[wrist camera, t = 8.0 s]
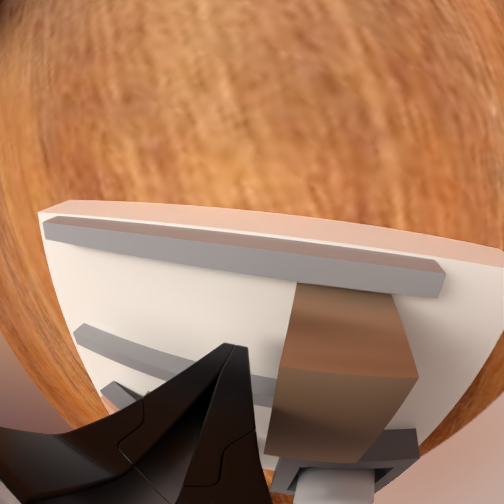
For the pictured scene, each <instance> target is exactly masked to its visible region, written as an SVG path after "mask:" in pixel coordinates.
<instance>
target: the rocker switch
mask: <svg viewBox="0 0 504 504" xmlns="http://www.w3.org/2000/svg"><path fill="white" fill-rule="evenodd" d="M100 392H101V394H102V397H100V398H101V400H102V402H103V404H104V405H105V407H106V409H107V411H108V412H109V414H110V415H111V414H113V413H115V412H117V411H119V410H121V409H123V408H124V407H126V406H128V405H130V404H131V403H133V402H135V401H136V400H135V399H134V398H133V397H132V396H130V395H129V394H128V393H127V392H126V391H124V390H123V389H122V388H121V387H120V386H119V385H118V384H116V383H115V382H114V381H112V382H111V383H109V384H108V385H107V386H105V387H104V388H103V389H101V390H100Z"/></svg>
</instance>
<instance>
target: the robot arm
mask: <svg viewBox="0 0 504 504" xmlns="http://www.w3.org/2000/svg"><path fill="white" fill-rule="evenodd" d="M0 504H273V502H272V499H271V496H270V493H269V489H268V486H267V483H266V480H265V476H264V473H263V469H262V465H261V461H260V456H259V449H258V443H257V433H256V424H255V414H254V404H253V394H252V384H251V373H250V362H249V351H248V347H246V346H241V345H235V344H231V343H222V344H221V345H219V346H218V347H217V348H215V349H214V350H212V351H211V352H209V353H208V354H207V355H205V356H204V357H202V358H201V359H199V360H198V361H196V362H195V363H194V364H192V365H191V366H189V367H188V368H186V369H185V370H183V371H182V372H180V373H179V374H177V375H176V376H174V377H173V378H171V379H170V380H168V381H166V382H165V383H163V384H162V385H160V386H159V387H157V388H156V389H154V390H152V391H151V392H149V393H148V394H146V395H145V396H143V398H140V399H138V400H136V401H135V402H133V403H131V404H130V405H128V406H126V407H124V408H123V409H121V410H119V411H117V412H115V413H113V414H111V415H109V416H106V417H104V418H102V419H100V420H97V421H95V422H93V423H90V424H88V425H85V426H83V427H80V428H78V429H75V430H73V431H70V432H66V433H62V434H44V433H35V432H27V431H21V430H15V429H9V428H4V427H0Z"/></svg>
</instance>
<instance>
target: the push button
mask: <svg viewBox="0 0 504 504" xmlns="http://www.w3.org/2000/svg"><path fill="white" fill-rule="evenodd" d="M374 481H375V469H339V468H320V467H306V468H304V469H302V470H301V471H300V472H299V477H298V482H297V487H296V492H295V496H294V501H293V504H372V503H373V502H374Z"/></svg>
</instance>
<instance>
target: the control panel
mask: <svg viewBox="0 0 504 504" xmlns="http://www.w3.org/2000/svg"><path fill="white" fill-rule="evenodd" d="M38 217H39V223H40V229H41V234H42V239H43V244H44V249H45V253H46V258H47V262H48V266H49V270H50V273H51V277H52V281H53V284H54V288H55V291H56V294H57V297H58V300H59V303H60V306H61V309H62V312H63V315H64V318H65V321H66V323H67V326H68V329H69V331H70V334H71V336H72V339H73V341H74V344H75V346H76V348H77V351H78V353H79V355H80V357H81V360H82V362H83V364H84V366H85V368H86V370H87V372H88V374H89V376H90V378H91V380H92V382H93V384H94V386H95V388H96V390H97V392H98V394H99V395H100V397H102V394H101V392H100V390H101V389H103V388H104V387H105V386H107V385H108V384H109V383H111V382H112V381H114V382H115V383H116V384H118V385H119V386H120V387H121V388H122V389H123V390H124V391H126V392H127V393H128V394H129V395H130V396H132V397H133V398H134V399H135V400H138V399H140V398H143V396H145V395H146V394H148V393H149V392H151V391H152V390H154V389H156V388H157V387H159V386H160V385H162V384H163V383H165V382H166V381H168V380H170V379H171V378H173V377H174V376H176V375H177V374H179V373H180V372H182V371H183V370H185V369H186V368H188V367H189V366H191V365H192V364H194V363H195V362H196V361H198V360H199V359H201V358H202V357H204V356H205V355H207V354H208V353H209V352H211V351H212V350H214V349H215V348H217V347H218V346H219V345H221V344H222V343H231V344H235V345H241V346H246V347H248V351H249V362H250V373H251V384H252V394H253V404H254V414H255V424H256V433H257V443H258V449H259V456H260V461H261V465H262V469H267V470H273V471H274V475H273V479H272V483H271V487H270V491H269V492H275V493H282V494H290V495H295V492H296V487H297V482H298V477H299V472H300V471H301V470H302V469H304V468H306V467H320V468H339V469H375V481H374V494H375V493H376V492H377V491H379V490H380V489H382V488H383V487H384V486H386V485H387V484H389V483H390V482H391V481H392V480H394V479H395V478H396V477H398V476H399V475H400V474H401V473H403V472H404V471H405V470H406V469H407V468H409V467H410V466H411V465H412V464H413V463H415V462H416V461H417V460H418V459H419V458H420V455H419V447H418V446H419V445H420V444H421V443H422V442H423V441H424V440H425V439H426V438H427V437H428V436H429V435H430V434H431V433H432V432H433V431H434V430H435V428H436V427H437V426H438V425H439V424H440V423H441V422H442V421H443V419H444V418H445V417H446V416H447V415H448V413H449V412H450V411H451V410H452V409H453V407H454V406H455V405H456V403H457V402H458V401H459V400H460V398H461V397H462V396H463V394H464V393H465V392H466V390H467V389H468V387H469V386H470V385H471V383H472V382H473V380H474V379H475V377H476V376H477V374H478V373H479V371H480V370H481V368H482V367H483V365H484V363H485V362H486V360H487V359H488V357H489V355H490V354H491V352H492V350H493V348H494V347H495V345H496V343H497V341H498V339H499V338H500V336H501V334H502V332H503V330H504V252H503V251H501V250H500V249H498V248H493V247H488V246H484V245H479V244H474V243H469V242H464V241H459V240H454V239H449V238H444V237H438V236H433V235H427V234H422V233H416V232H410V231H404V230H398V229H392V228H385V227H379V226H372V225H366V224H359V223H352V222H345V221H337V220H330V219H322V218H314V217H306V216H297V215H289V214H280V213H271V212H261V211H251V210H241V209H230V208H218V207H206V206H193V205H179V204H163V203H145V202H125V201H97V200H69V201H66V202H63V203H60V204H58V205H55V206H52V207H50V208H47V209H44V210H42V211H39V212H38ZM297 282H299V283H306V284H314V285H321V286H329V287H337V288H344V289H352V290H361V291H369V292H377V293H386V294H391V295H392V297H393V300H394V302H395V305H396V308H397V310H398V313H399V316H400V319H401V321H402V324H403V327H404V330H405V333H406V336H407V339H408V342H409V345H410V348H411V351H412V355H413V358H414V361H415V365H416V368H417V372H418V375H419V379H418V380H417V382H416V384H415V385H414V387H413V388H412V390H411V392H410V393H409V395H408V396H407V398H406V399H405V401H404V402H403V404H402V405H401V407H400V408H399V410H398V411H397V412H396V414H395V415H394V417H393V418H392V419H391V421H390V422H389V423H388V425H387V426H386V427H385V429H384V430H383V431H382V433H381V434H380V435H379V436H378V438H377V439H376V440H375V441H374V443H373V444H372V445H371V446H370V447H369V449H368V450H367V451H366V452H365V453H364V454H363V456H362V457H361V458H360V459H359V460H358V461H357V462H356V463H336V462H319V461H308V460H299V459H291V458H284V457H277V456H271V455H265V454H263V453H264V448H265V443H266V437H267V432H268V427H269V422H270V416H271V411H272V405H273V399H274V394H275V388H276V382H277V376H278V369H279V364H280V360H281V355H282V351H283V347H284V342H285V338H286V333H287V329H288V324H289V319H290V314H291V310H292V305H293V300H294V295H295V290H296V285H297Z"/></svg>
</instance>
